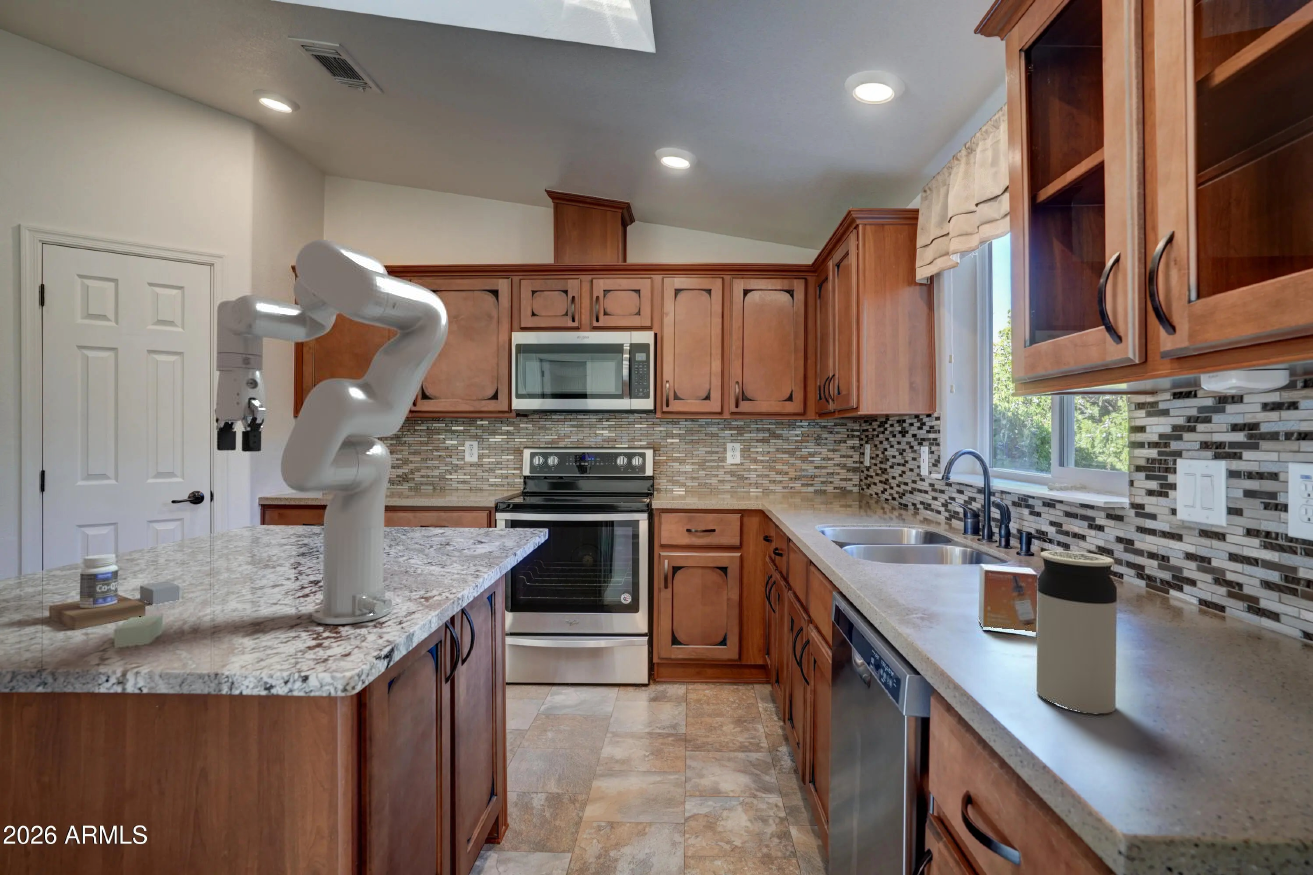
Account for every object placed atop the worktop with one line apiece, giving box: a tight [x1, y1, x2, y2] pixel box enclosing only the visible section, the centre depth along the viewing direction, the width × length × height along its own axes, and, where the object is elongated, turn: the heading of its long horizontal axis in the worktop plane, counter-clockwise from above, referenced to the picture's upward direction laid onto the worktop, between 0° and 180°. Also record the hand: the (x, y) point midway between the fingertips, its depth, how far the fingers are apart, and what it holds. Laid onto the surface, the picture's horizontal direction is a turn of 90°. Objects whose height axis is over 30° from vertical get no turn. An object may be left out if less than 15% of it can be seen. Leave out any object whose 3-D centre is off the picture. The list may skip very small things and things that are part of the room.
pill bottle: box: [79, 553, 119, 608], centre depth 101 cm, size 5×5×8 cm
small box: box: [978, 563, 1039, 632], centre depth 101 cm, size 8×6×10 cm
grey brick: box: [139, 580, 181, 605], centre depth 112 cm, size 6×4×3 cm, turn 59°
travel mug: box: [1036, 550, 1118, 714], centre depth 73 cm, size 8×8×18 cm
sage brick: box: [114, 614, 164, 649], centre depth 90 cm, size 6×4×3 cm, turn 25°
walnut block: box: [48, 593, 147, 630], centre depth 101 cm, size 12×9×2 cm
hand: (238, 450), depth 117 cm, fingers open, 9 cm apart
